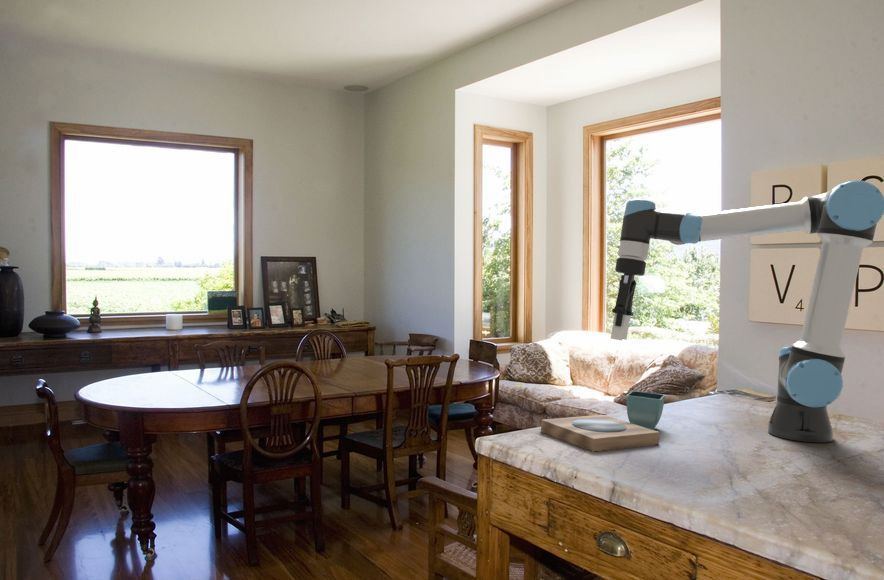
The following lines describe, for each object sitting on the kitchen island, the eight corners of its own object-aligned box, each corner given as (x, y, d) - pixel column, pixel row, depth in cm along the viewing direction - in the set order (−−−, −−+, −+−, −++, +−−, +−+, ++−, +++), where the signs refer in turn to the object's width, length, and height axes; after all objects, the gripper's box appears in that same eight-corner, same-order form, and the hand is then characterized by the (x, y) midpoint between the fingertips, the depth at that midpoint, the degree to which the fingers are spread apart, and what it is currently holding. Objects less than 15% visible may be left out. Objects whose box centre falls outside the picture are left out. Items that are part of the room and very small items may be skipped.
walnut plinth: (658, 444, 166) (659, 431, 166) (593, 452, 156) (594, 438, 156) (602, 425, 183) (603, 413, 183) (540, 431, 174) (541, 418, 174)
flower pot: (663, 427, 185) (665, 394, 184) (659, 434, 177) (661, 399, 176) (630, 423, 188) (631, 390, 188) (624, 429, 180) (625, 395, 180)
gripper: (621, 261, 195) (609, 336, 195) (612, 252, 171) (598, 337, 171) (649, 265, 192) (637, 341, 192) (643, 256, 169) (629, 342, 169)
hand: (618, 339), depth 182 cm, fingers open, 13 cm apart
